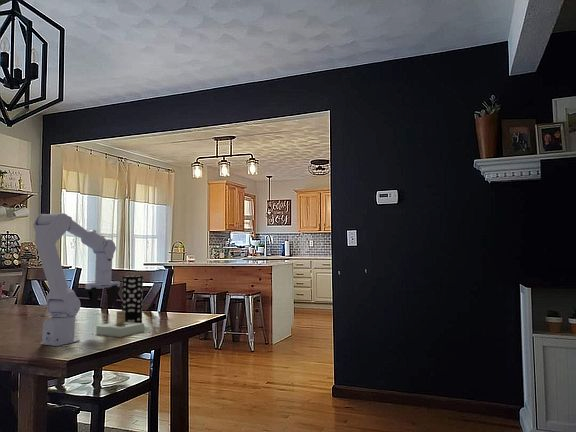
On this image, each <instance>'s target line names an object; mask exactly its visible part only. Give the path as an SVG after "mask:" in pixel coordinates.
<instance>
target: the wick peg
mask: <svg viewBox="0 0 576 432" xmlns="http://www.w3.org/2000/svg"><path fill="white" fill-rule="evenodd" d="M123 325H125V311H122V310H119V311H116V326H123Z"/></svg>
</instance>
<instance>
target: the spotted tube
mask: <svg viewBox="0 0 576 432" xmlns="http://www.w3.org/2000/svg"><path fill="white" fill-rule="evenodd" d="M121 283H122V286H121V311H125V322H133V323H143V295H144V294H143V293H144V291H143V289H144V284H143V283H144V275H123V276H122V280H121Z"/></svg>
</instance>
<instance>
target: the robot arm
mask: <svg viewBox="0 0 576 432" xmlns="http://www.w3.org/2000/svg"><path fill="white" fill-rule="evenodd" d="M32 225H33V228H34V231H35V236H34V237H35V239H34V240H35V241H34V243H35V247H36V251H37V253H38V256H39V260H40V263H41V266H42V269H43V270H42V271H43V273H44V276H45V279H46V282H47V285H48V288H49V292H48V294H47V295H46V296H45V299H46V311H47V312H48V313H49V318H46V319H45V320H44V322H43V324H42V336H41V342H40V345H47V346H53V347H58V346H62V345H63V346H64V345H67V344H71V343H77V342H80V341H81V340H80V339H78V338H75V325H76V323H75V321H76V316H77V314H78V313H79V311H80V309H81V301H80V298H79V297H78V296H77V295H76V292H75V291H74V290H73V289H72V288H70V287H69V285H68V282H67V278H66V275H65V272H64V269H63V266H62V262H61V259H60V255H59V253H58V249H57V245H56V243H57V241H59V240H60V239H61V238H62V237H63V236H64V235H65V233H67V232H68V233H70V234H72V235H73V236H75V237H78V238H79V239H80V242H81V243H82V244H83V245H86V246H87V247H89V248H90V249H92V252H93V253H94V254H95V276H94V277H95V279H94V282H89V283H85V286H84V287H85V289H84V290H85V293H86V294H87V297H88V300H89V302H90V306H91V307H90V308H91V309H97V308H98V305H99V304H98V303H99V296H100V295H99V294H100V292H101V290H100V289H102V288H105V291H106V294H107V306H108V307H114V304H115V301H116V297H117V296H118V293H119V291H120V290H121V287H120V286H121V281H112V278H113V277H112V274H113V273H112V272H113V269H112V268H113V258H114V254H115V252H116V249H117V246H116V245H115V244H116V243H115V242H114V241H113V240H112V239H106V238H105V236H104V235H101V234H99V233H98V232H97V230H95V229H86V228H84V227H83V226H82V225H80V224H78V223H77V222H76V221H74V220H73V217H72V216H69V215H68V214H66V213H63V212H60V213H48V214H47V213H40V214H39V215H38V216H37V217H36V219H35V220H34V222H33V224H32Z"/></svg>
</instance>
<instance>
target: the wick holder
mask: <svg viewBox="0 0 576 432" xmlns="http://www.w3.org/2000/svg"><path fill="white" fill-rule="evenodd" d="M116 322H117V321H116ZM116 322H115V321H114V322H110V323H107V324H106V323H105V324H100V325H96V332H95V333H96V335H101V336H109V337H117V338H119V337H120V338H121V337H125V336H130V335H134V334H139V333H142V332H145V322H144V323H143V322H142V323H133V322H125V325H123V326H116Z"/></svg>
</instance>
